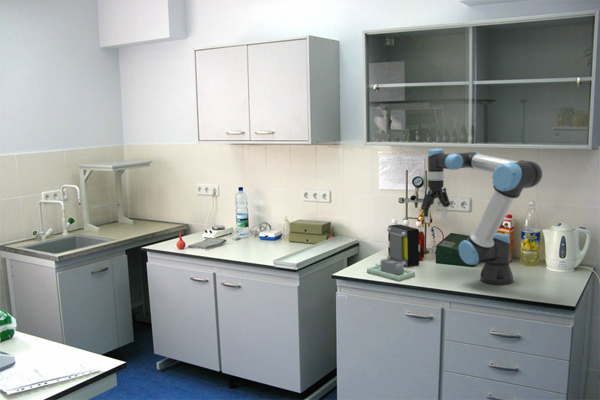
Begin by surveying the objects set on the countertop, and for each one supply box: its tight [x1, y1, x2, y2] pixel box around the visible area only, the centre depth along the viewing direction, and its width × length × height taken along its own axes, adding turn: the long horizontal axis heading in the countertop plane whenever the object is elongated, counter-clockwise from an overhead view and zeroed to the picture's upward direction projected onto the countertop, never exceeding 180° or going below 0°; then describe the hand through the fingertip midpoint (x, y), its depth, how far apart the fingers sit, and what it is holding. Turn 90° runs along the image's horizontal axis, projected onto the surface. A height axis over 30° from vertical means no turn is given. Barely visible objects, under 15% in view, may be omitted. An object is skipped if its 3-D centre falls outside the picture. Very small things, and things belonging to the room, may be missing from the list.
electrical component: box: [386, 223, 420, 268], centre depth 309 cm, size 18×10×20 cm, turn 25°
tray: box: [366, 265, 416, 282], centre depth 288 cm, size 22×12×2 cm, turn 39°
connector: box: [375, 258, 405, 276], centre depth 288 cm, size 17×5×6 cm, turn 39°
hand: (435, 221), depth 287 cm, fingers open, 13 cm apart
